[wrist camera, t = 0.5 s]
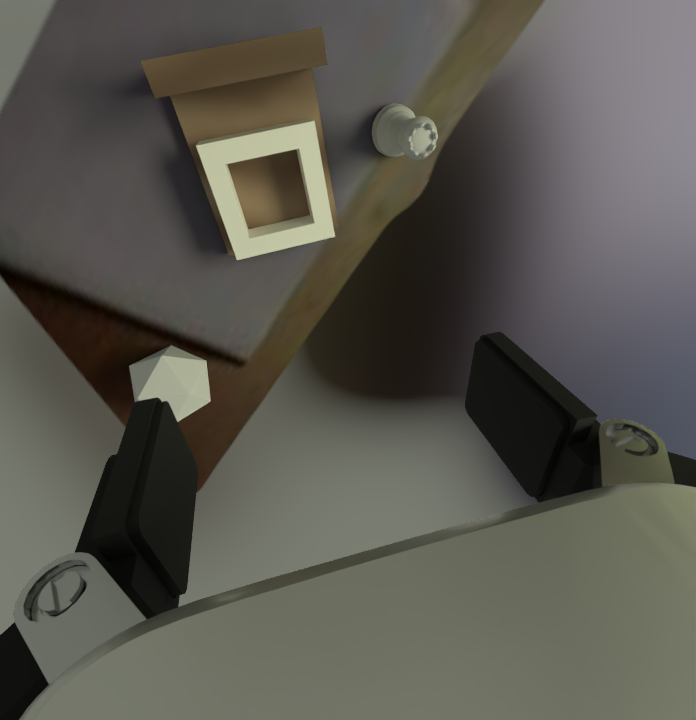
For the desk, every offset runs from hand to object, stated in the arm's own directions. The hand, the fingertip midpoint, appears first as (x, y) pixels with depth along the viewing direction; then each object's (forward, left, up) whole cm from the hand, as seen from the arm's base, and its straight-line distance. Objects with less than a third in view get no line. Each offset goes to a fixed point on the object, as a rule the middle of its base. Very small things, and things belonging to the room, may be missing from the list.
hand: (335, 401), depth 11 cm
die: (+18, -17, -33) cm, 41 cm away
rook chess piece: (-2, +13, -33) cm, 35 cm away
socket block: (+1, 0, -31) cm, 32 cm away
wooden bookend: (-2, 0, -33) cm, 33 cm away
